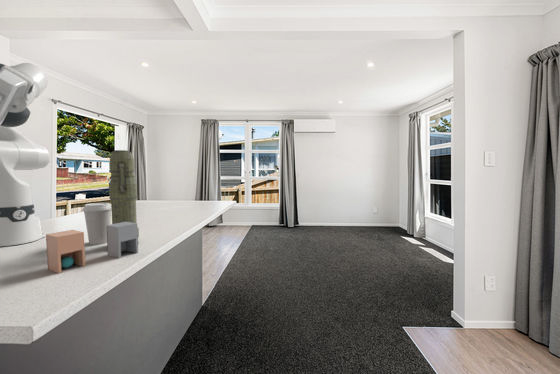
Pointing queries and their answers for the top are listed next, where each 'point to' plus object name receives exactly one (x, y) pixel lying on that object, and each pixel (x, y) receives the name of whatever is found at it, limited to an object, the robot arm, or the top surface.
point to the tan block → (65, 248)
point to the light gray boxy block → (122, 238)
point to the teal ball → (67, 262)
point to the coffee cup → (97, 221)
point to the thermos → (122, 187)
